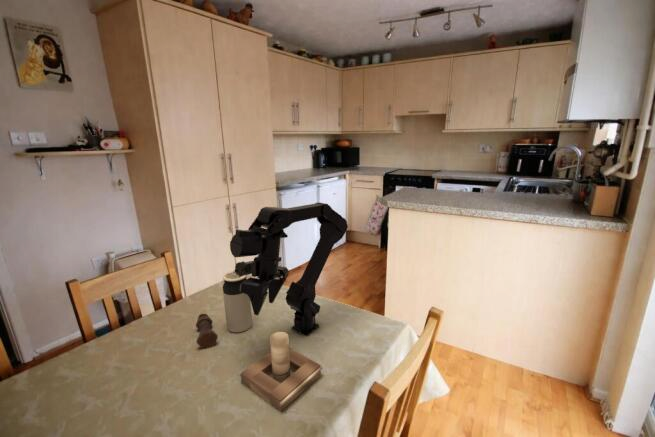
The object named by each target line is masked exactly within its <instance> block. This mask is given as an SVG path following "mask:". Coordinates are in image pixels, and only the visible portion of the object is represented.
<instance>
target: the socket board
mask: <svg viewBox="0 0 655 437" xmlns="http://www.w3.org/2000/svg"><path fill="white" fill-rule="evenodd" d="M289 357H290V372H292V374H290V376H289V377H288V378H287V379H286V380H285V381H283V382H282V383H281V384H280V383H279V382H277V381H276V380H274V379H273V377H271V374H272V375H273V373H272V358H271V351H270V352H268V353H266V355H264V356H263V357H261V358H259V359H258V360H257V361H255V362H254V363H252V364H251V365H249V366H248V367H246V369H244V370H243V371H241V372H239V374H238V376H239V377H240V378H241V380H240V381H241V384H242V385H243V386H244V387H247V388H248V389H249V390H251V391H252V392H254V393H255V394H256V395H257V396H259V397H260V398H261V399H263V400H264V401H265V402H267V403H268V404H270V405H271V406H272V407H273V408H275V409H276V410H277V411H279V412H283V410H284V409H286V408H287V407H288V406H289V405H290V404H291V403H292V402H294V400H296V399H297V397H299V396H300V395H301V394H302V393H303V392H304V391H305V390H306V389H307V388H308V387H310V386H311V384H312V383H314V382H315V381H316V380H317V379H318V378H319V377H320V376H321V375H322V370H323V366H322V364H320V363H318V362H316V361H314V360H312V359H311V358H309V357H307V356H305V355H303V354H301V353H300V352H298V351H296V350H294V349H292V348H290V347H289Z"/></svg>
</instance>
